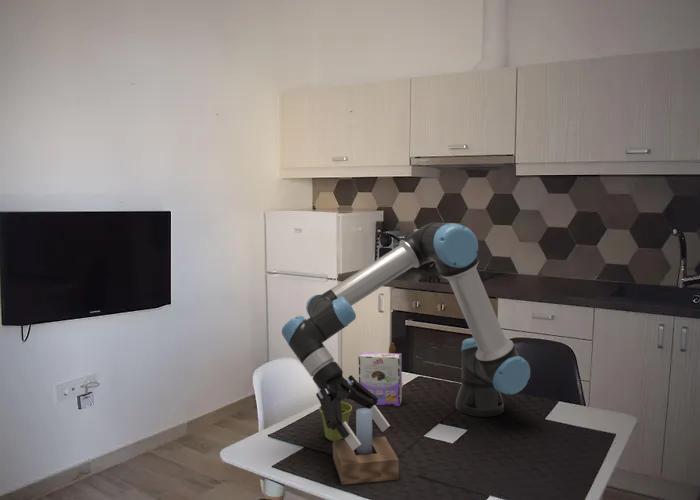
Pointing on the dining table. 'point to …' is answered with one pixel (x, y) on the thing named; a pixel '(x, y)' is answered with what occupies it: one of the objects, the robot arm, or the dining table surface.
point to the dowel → (364, 431)
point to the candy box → (382, 376)
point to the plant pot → (345, 412)
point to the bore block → (365, 462)
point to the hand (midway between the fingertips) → (372, 437)
